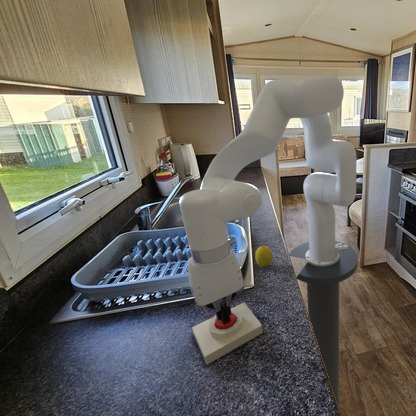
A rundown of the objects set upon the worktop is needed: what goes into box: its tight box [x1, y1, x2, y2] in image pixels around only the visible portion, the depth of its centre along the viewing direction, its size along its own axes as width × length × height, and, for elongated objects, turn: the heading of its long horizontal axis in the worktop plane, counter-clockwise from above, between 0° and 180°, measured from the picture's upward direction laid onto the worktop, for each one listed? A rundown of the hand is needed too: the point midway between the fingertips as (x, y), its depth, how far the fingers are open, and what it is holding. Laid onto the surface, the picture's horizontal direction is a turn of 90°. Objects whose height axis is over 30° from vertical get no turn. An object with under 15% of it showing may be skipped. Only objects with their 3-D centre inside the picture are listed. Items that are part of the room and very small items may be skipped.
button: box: [215, 312, 236, 330], centre depth 61 cm, size 4×4×2 cm
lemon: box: [254, 245, 274, 268], centre depth 86 cm, size 6×6×8 cm
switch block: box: [191, 302, 264, 365], centre depth 61 cm, size 13×10×4 cm
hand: (224, 319), depth 60 cm, fingers closed
